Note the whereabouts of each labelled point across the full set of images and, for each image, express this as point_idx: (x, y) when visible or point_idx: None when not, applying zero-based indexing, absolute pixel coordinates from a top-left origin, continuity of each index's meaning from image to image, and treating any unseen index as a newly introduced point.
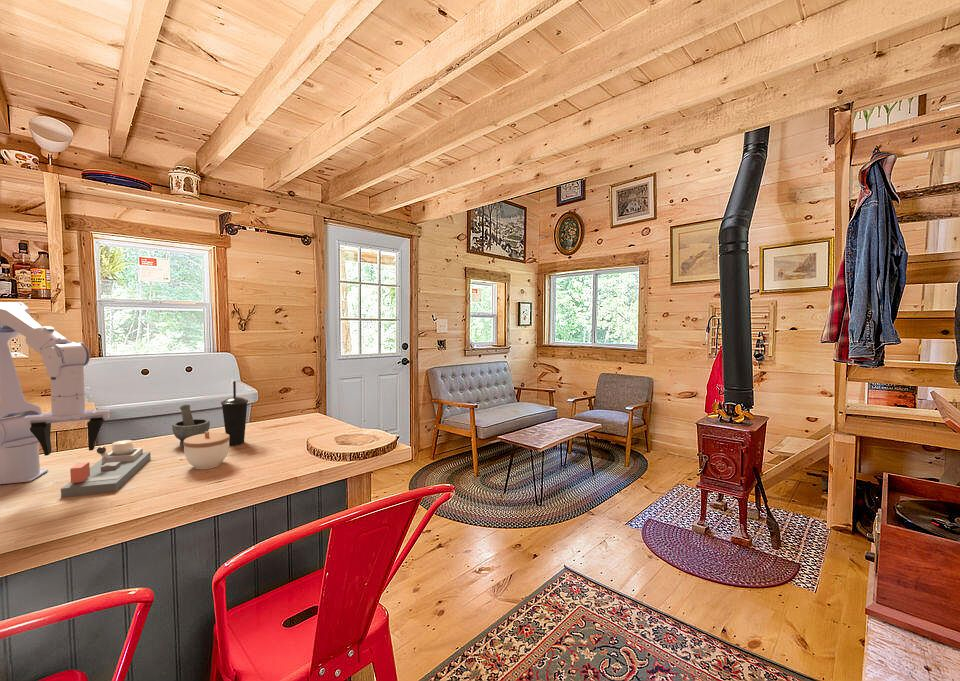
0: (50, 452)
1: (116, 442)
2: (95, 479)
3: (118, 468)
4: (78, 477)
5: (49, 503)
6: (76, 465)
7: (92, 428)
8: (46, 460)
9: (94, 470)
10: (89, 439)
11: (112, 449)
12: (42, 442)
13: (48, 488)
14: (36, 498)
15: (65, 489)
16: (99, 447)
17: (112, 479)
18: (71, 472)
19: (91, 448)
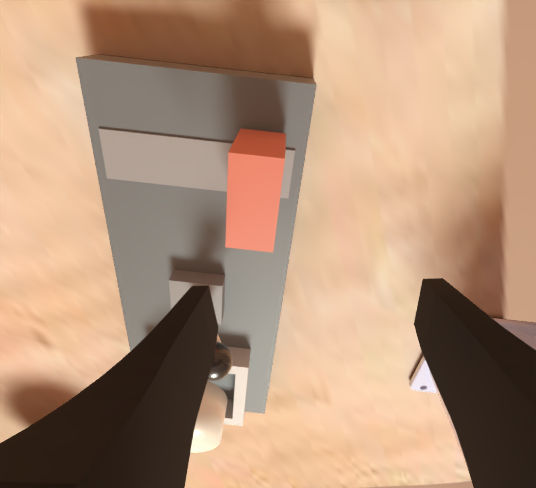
0: (418, 317)
1: (210, 441)
2: (199, 160)
3: (168, 277)
4: (251, 137)
5: (343, 3)
6: (269, 208)
7: (82, 425)
8: (423, 454)
9: (250, 288)
10: (173, 338)
11: (220, 406)
12: (509, 344)
13: (382, 224)
14: (407, 115)
15: (296, 82)
16: (215, 371)
17: (122, 130)
18: (279, 148)
19: (190, 292)
